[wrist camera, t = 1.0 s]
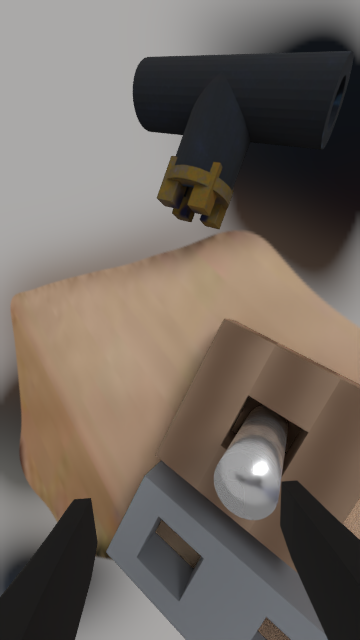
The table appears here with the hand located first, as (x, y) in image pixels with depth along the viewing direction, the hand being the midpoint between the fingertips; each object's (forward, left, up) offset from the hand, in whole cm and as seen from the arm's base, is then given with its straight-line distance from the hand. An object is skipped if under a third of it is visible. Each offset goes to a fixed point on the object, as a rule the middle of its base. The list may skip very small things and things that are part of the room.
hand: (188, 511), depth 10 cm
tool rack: (-5, +12, -12) cm, 18 cm away
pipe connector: (+12, -18, -13) cm, 25 cm away
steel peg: (-2, 0, -12) cm, 13 cm away
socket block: (-2, 0, -12) cm, 12 cm away
